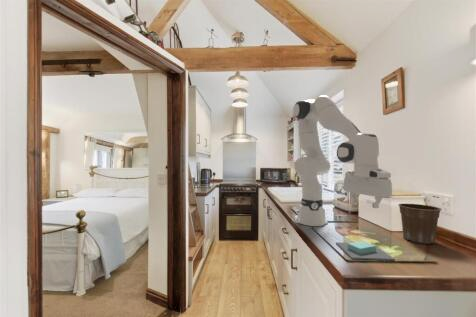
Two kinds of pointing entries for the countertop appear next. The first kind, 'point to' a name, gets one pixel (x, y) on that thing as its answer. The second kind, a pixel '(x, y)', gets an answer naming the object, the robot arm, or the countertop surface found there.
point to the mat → (375, 255)
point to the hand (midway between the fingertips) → (364, 205)
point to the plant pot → (419, 222)
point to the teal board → (361, 247)
